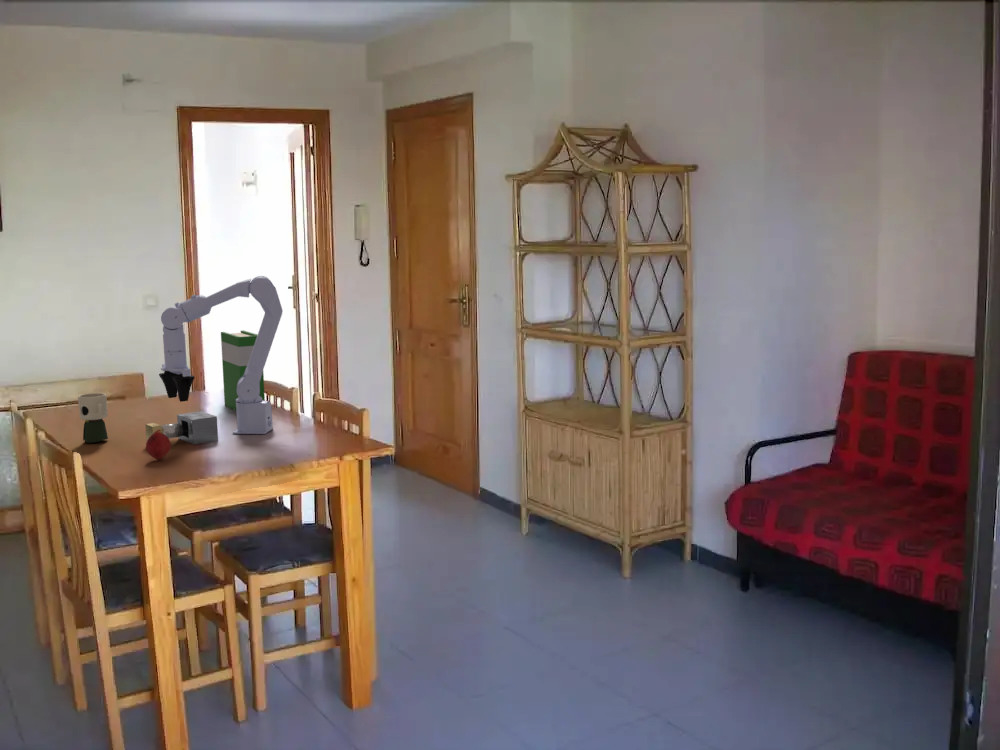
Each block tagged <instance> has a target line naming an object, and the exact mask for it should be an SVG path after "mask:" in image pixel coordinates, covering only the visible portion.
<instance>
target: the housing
mask: <svg viewBox="0 0 1000 750" xmlns="http://www.w3.org/2000/svg"><path fill="white" fill-rule="evenodd" d="M176 419H177V420H176V423H181V425H182V427H183V435H182V436H181V437H177V438H178V440H180V439H181V440H180V441H183V440H184V441H183V442H185V441H187V442H186V443H188V442H190V443H192V444H191V445H193V444H196V445H200V444H199V443H202V444H207V443H206V442H208V443H214V441H215V442H219V432H218V416H217V415H213V414H210V413H207V412H206V411H200V410H199V411H193V412H186V413H179V414H176ZM190 443H189V444H190Z"/></svg>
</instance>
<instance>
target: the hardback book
mask: <svg viewBox="0 0 1000 750" xmlns="http://www.w3.org/2000/svg"><path fill="white" fill-rule="evenodd" d="M257 335H258V333H253V332H250V331H246V330H240V332H234V333H233V332H232V333H229V332H227V331H226V332H225V331H221V332H220V341H221V343H220V344H221V360H222V361H221V362H222V377H223V382H222V383H223V397H224V398H223V399H224V401H223V402H224V406H225V407H227V408H229V409H231V410H233V411H235V412H236V399H237V398H238V395H237V383H238V380H239V379H240V378H241V377H242V376H243V375H244V373H245V370H246V367H247V365H248V362H249V359H250V356H251V353H252V350H253V347H254V344H255V341H256V338H257ZM264 376H265V375H264V371H263V372H262V376H261V380H260V383H259V384H260V394H259V396H260V397H262V400H263V401H266V399H265V398H266V396H265V379H264Z"/></svg>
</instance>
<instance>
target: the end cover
mask: <svg viewBox="0 0 1000 750" xmlns="http://www.w3.org/2000/svg"><path fill="white" fill-rule="evenodd" d="M157 429H160V430H161V431H160V432H161V433H163V434H164V435H166V436H167V437H168V439H169V440H170V439H173V438H174V439H175V438H178V437H181V436H182V435H183V427H182V425H181V423H177V422H174V423H166V424H159V423H156V422H150V423H145V438H146V442H147V440H148V439H149V437H150V436H151V435H152V434H153V433H154V432H155V431H156V430H157Z"/></svg>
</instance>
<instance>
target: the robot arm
mask: <svg viewBox="0 0 1000 750" xmlns="http://www.w3.org/2000/svg"><path fill="white" fill-rule="evenodd" d="M250 295H251V297H253V298H254V299H255V300H256V301H257V302H258V303H259V304H260V307H261V308H262V310H263V311H264V315H263V318H262V321H261V323H260V327H259V329H258V332H257V334H258V335H257V338H256V341H255V344H254V347H253V350H252V353H251V356H250V359H249V362H248V365H247V367H246V370H245V373H244V375H243V376H242V377H241V378H240V379H239V380H238V383H237V395H238V398H237V399H236V411H235V412H236V424H237V425H236V429H235V430H234V431H232V432H231V433H232V435H240V434H241V435H266V434H268V433H269V432H270V431H271V430H273V429H274V426H273V411H272V409H273V408H272V403H271V401H268V400H265V401H263V400H262V397H260V396H259V394H260V384H259V383H260V380H261V376H262V372H263V373H264V368H265V366H266V362H267V360H268V357H269V354H270V350H271V348H272V344H273V341H274V339H275V336H276V333H277V331H278V327H279V324H280V321H281V318H282V316H283V307H282V304H281V301H280V298H279V294H278V290H277V287H276V286H275V285H274V284H273V282H272V281H271V279H270V278H268V277H267V276H264V275H259V276H258V275H257V276H255V277H254V278H249V279H245V280H241V281H239V282H238V281H237V282H236V283H234V284H232V285H230V286H228V287H225V288H223V289H221V290H218V291H216V292H214V293H212V294H210V295H208V296H205V295H202V294H198V295H196V294H192V295H191V296H190V298H189V299H186V300H185V301H182V302H180V303H179V302H176V303H174V306H169V307H168V308H166V309H164V311H163V312H162V313H161V316H160V320H161V321H160V322H161V324H162V332H163V335H162V339H163V340H162V341H163V343H162V344H163V354H164V363H163V364H161V365H162V366H161V368H160V370H161V371H162V373H161V372H160V373H159V374H158V376H159V378H160V379H161V382H162V383H163V385H164V388H165V391H166V394H167V396H168V399H172V398H173V399H175V398H177V396H178V400H179V402H188V401H189V397H190V393H191V392H190V391H191V388H192V387H191V386H192V384H193V382H194V380H195V375H192V373H191V368H189V366H188V365H187V364H188V362H187V350H186V349H187V348H186V336H185V335H186V334H185V333H184V332H185V331H184V330H185V329H184V324H183V323H188V324H189V323H191V322H193V321H195V320H198V319H200V318H202V317H204V316H207V315H209V314H211V313H210V312H211V310H212V308H213V307H216V306H219V305H220V304H223V303H225V302H228V301H231V300H232V299H233V300H234V299H235V298H238V297H240V298H242V297H243V298H250Z"/></svg>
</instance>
